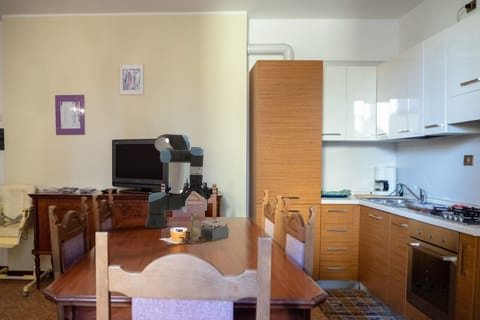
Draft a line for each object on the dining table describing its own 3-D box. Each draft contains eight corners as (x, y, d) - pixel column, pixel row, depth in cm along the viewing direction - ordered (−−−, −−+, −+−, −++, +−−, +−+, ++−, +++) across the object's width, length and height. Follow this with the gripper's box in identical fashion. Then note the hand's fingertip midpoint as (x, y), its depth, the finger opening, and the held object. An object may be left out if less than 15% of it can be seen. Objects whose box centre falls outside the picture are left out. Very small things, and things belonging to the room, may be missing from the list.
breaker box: (200, 237, 189) (200, 221, 189) (216, 235, 196) (216, 219, 197) (212, 242, 180) (212, 224, 180) (228, 239, 188) (228, 222, 188)
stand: (179, 237, 187) (180, 232, 187) (191, 236, 192) (191, 230, 192) (187, 240, 181) (187, 235, 181) (198, 238, 186) (198, 233, 186)
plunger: (210, 229, 188) (210, 225, 188) (215, 228, 191) (215, 224, 191) (214, 230, 185) (214, 226, 185) (219, 229, 188) (219, 225, 188)
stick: (190, 241, 177) (191, 212, 177) (195, 240, 180) (196, 212, 180) (193, 242, 175) (194, 213, 175) (198, 241, 177) (199, 213, 177)
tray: (182, 242, 178) (182, 237, 178) (196, 239, 184) (196, 235, 184) (191, 245, 171) (191, 241, 171) (206, 243, 177) (206, 238, 177)
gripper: (180, 174, 166) (179, 214, 167) (217, 174, 183) (216, 210, 183) (173, 173, 172) (172, 212, 172) (210, 173, 188) (208, 208, 189)
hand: (194, 211), depth 178 cm, fingers open, 13 cm apart
